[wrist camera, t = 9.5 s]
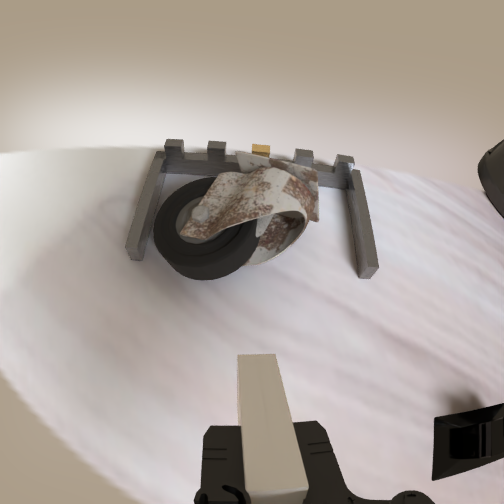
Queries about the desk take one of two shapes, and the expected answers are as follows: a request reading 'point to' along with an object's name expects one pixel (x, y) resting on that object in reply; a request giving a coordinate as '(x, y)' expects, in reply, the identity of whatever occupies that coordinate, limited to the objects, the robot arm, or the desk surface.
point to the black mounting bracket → (467, 440)
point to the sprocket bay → (219, 163)
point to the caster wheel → (236, 217)
